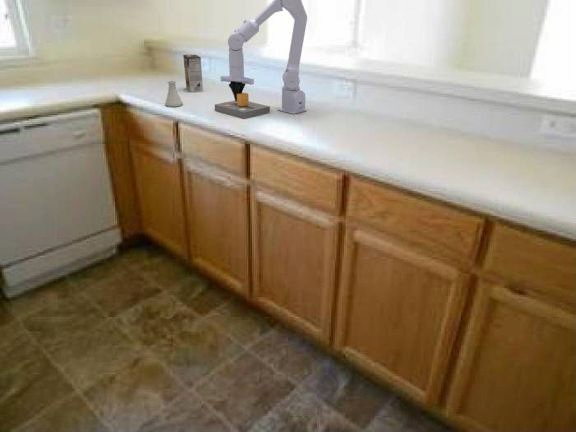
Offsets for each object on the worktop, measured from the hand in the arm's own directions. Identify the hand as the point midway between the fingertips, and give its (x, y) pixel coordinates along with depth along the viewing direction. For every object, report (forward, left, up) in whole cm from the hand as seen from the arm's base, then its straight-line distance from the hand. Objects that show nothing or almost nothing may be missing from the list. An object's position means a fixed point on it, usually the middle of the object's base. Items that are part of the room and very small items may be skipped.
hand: (237, 101), depth 182 cm
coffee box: (+45, -11, -4) cm, 47 cm away
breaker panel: (-3, 0, -4) cm, 5 cm away
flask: (+25, +14, -4) cm, 29 cm away
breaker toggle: (-3, 0, -1) cm, 3 cm away
